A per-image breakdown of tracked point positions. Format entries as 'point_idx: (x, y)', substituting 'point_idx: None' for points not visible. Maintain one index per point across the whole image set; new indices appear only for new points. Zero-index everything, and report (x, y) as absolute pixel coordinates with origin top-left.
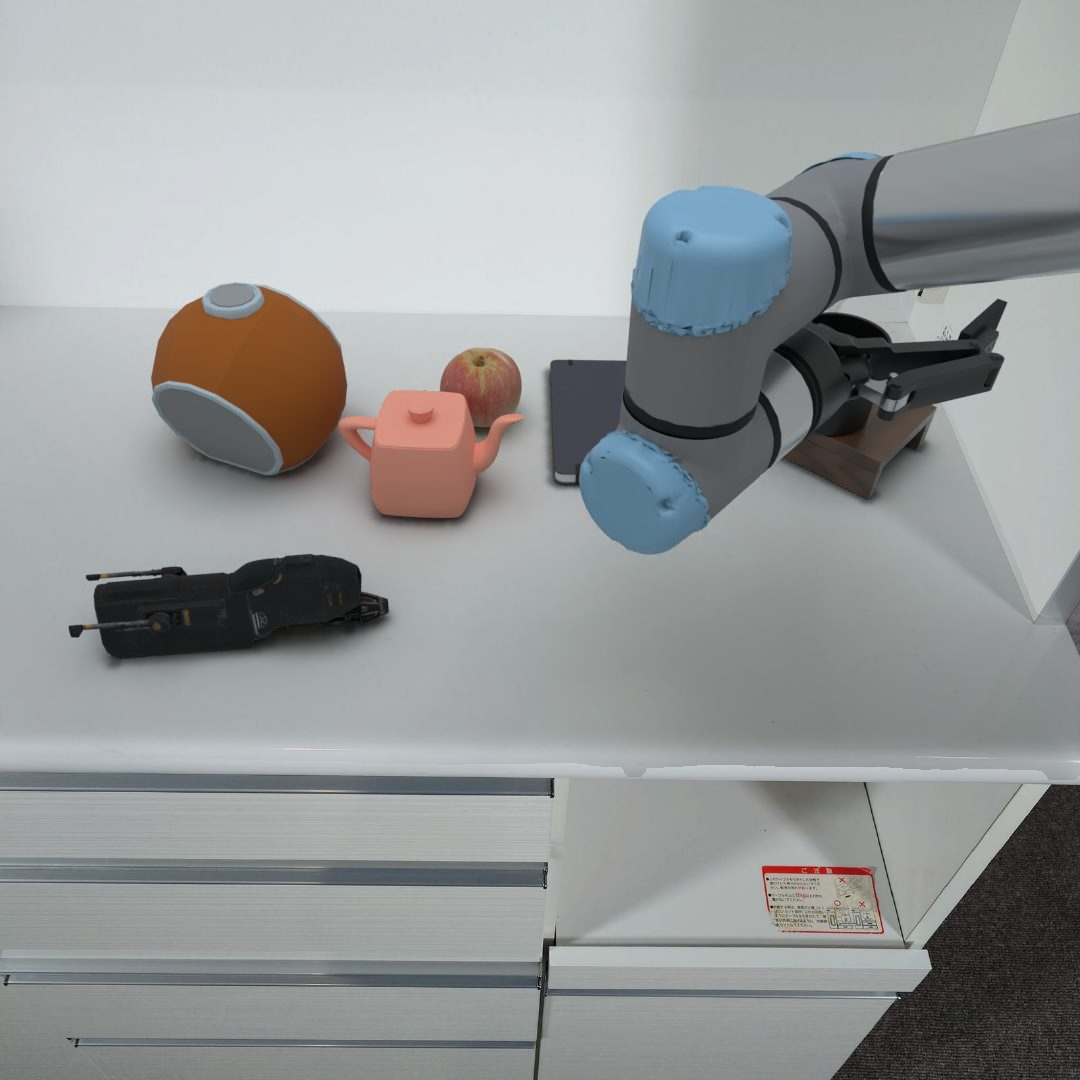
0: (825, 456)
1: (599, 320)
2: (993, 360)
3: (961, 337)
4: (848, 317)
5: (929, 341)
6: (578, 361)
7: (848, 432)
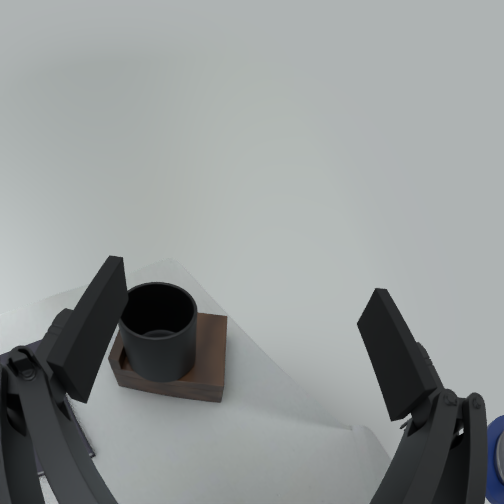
0: (180, 389)
1: (14, 310)
2: (481, 410)
3: (423, 395)
4: (151, 285)
5: (423, 454)
6: (3, 355)
7: (189, 370)
